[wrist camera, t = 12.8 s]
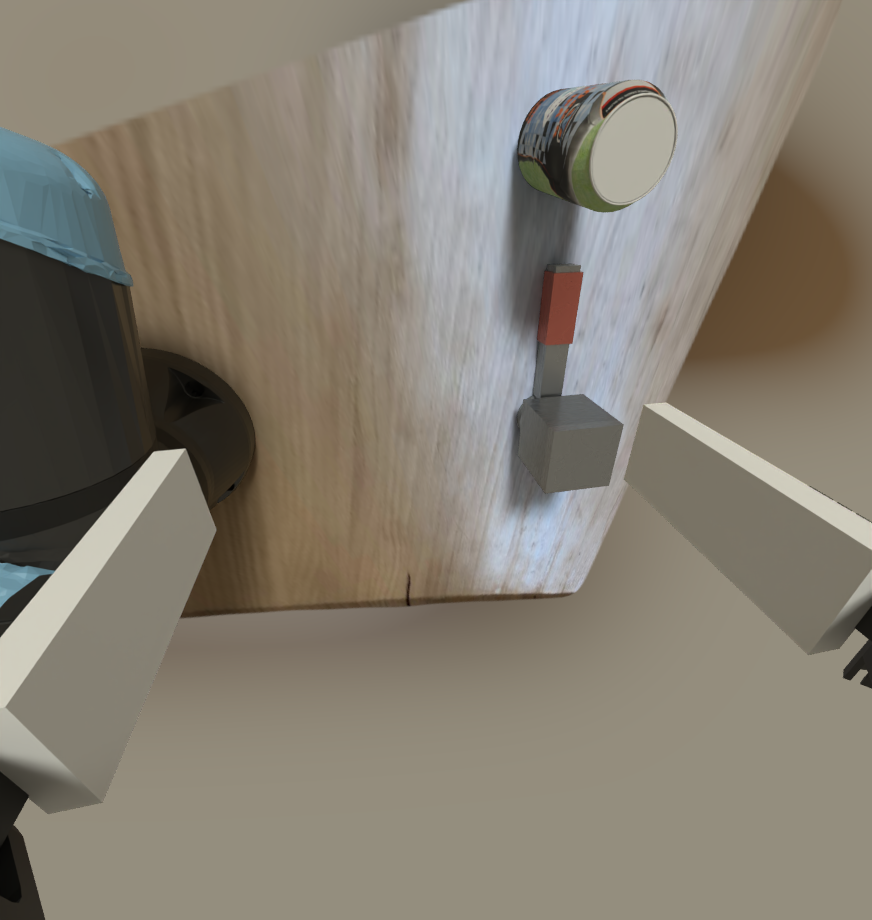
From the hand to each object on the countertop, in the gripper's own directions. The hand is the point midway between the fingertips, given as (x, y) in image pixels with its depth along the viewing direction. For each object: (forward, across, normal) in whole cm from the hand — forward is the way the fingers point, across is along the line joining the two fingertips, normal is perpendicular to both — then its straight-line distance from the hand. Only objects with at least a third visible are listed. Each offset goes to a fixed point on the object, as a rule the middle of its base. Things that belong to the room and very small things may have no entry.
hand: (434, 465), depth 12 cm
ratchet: (+27, +16, -6) cm, 32 cm away
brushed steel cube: (+24, +16, -12) cm, 32 cm away
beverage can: (+27, +14, +10) cm, 32 cm away
